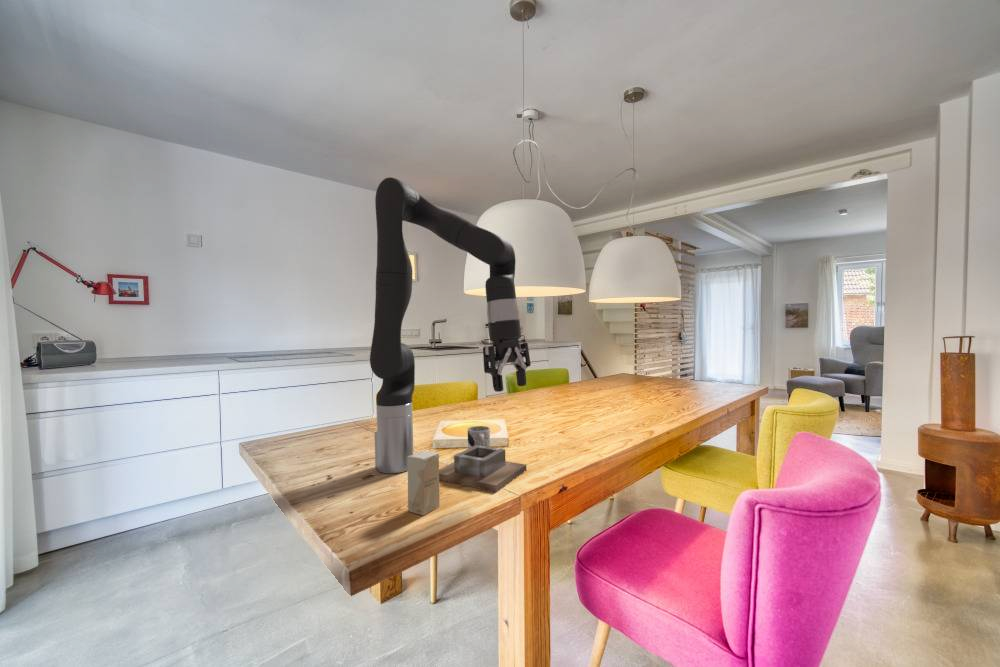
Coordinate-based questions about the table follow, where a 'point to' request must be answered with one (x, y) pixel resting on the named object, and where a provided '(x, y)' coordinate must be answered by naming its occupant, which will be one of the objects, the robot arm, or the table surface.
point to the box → (423, 482)
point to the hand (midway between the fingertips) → (510, 388)
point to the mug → (478, 436)
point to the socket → (481, 468)
